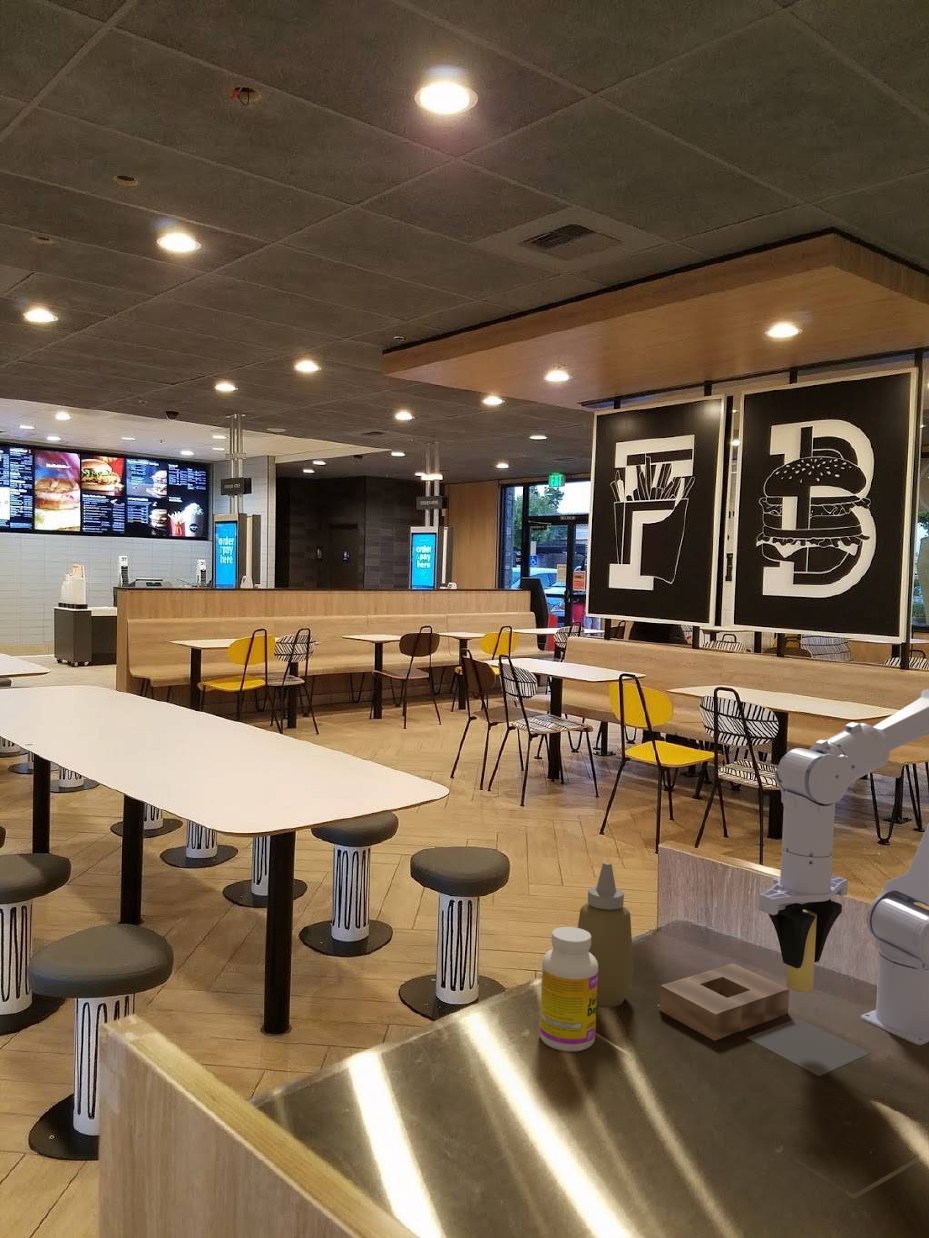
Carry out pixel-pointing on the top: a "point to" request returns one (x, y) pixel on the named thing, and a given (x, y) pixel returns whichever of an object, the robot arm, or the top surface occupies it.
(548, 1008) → the supplement bottle
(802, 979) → the peg
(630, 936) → the squeeze bottle
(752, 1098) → the top surface
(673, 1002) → the walnut block
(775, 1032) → the mat
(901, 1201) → the top surface
